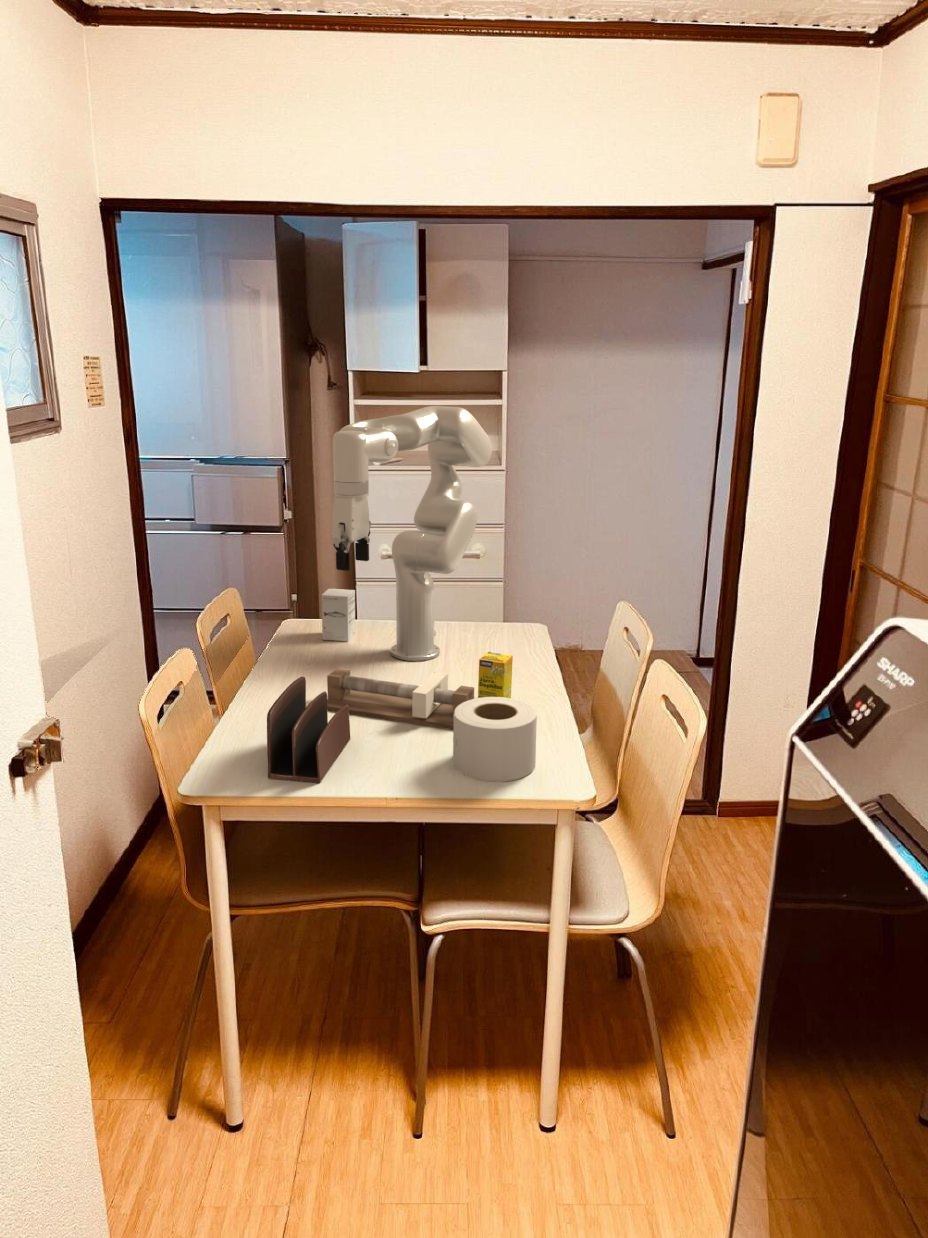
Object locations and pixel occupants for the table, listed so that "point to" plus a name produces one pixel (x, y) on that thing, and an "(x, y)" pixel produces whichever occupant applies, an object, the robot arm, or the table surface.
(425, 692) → the collar
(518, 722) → the white paper roll
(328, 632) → the supplement box
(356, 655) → the table surface
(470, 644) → the table surface
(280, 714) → the letter holder
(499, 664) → the supplement box
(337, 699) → the pipe stand
